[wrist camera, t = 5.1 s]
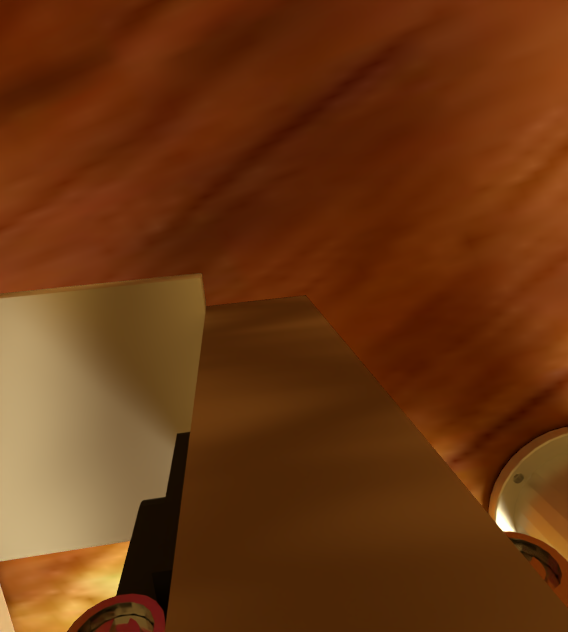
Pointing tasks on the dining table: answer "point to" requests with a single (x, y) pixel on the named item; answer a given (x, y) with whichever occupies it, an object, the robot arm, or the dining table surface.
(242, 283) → the dining table surface
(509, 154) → the dining table surface
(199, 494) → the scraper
